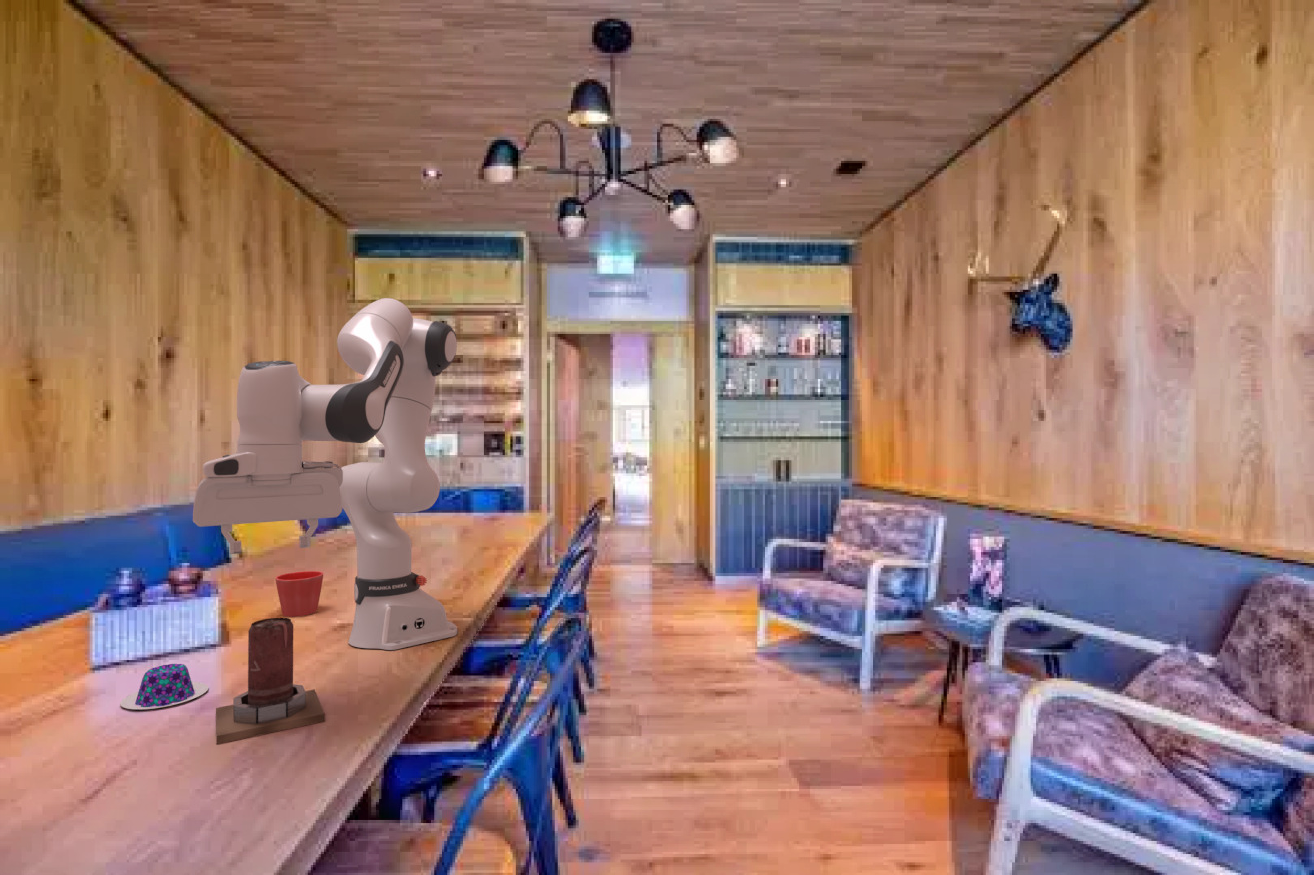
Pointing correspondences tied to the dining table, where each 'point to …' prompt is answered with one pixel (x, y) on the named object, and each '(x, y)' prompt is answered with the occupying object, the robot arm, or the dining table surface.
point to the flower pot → (299, 592)
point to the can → (270, 661)
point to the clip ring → (268, 708)
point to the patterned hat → (164, 688)
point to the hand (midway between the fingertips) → (271, 550)
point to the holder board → (236, 731)
